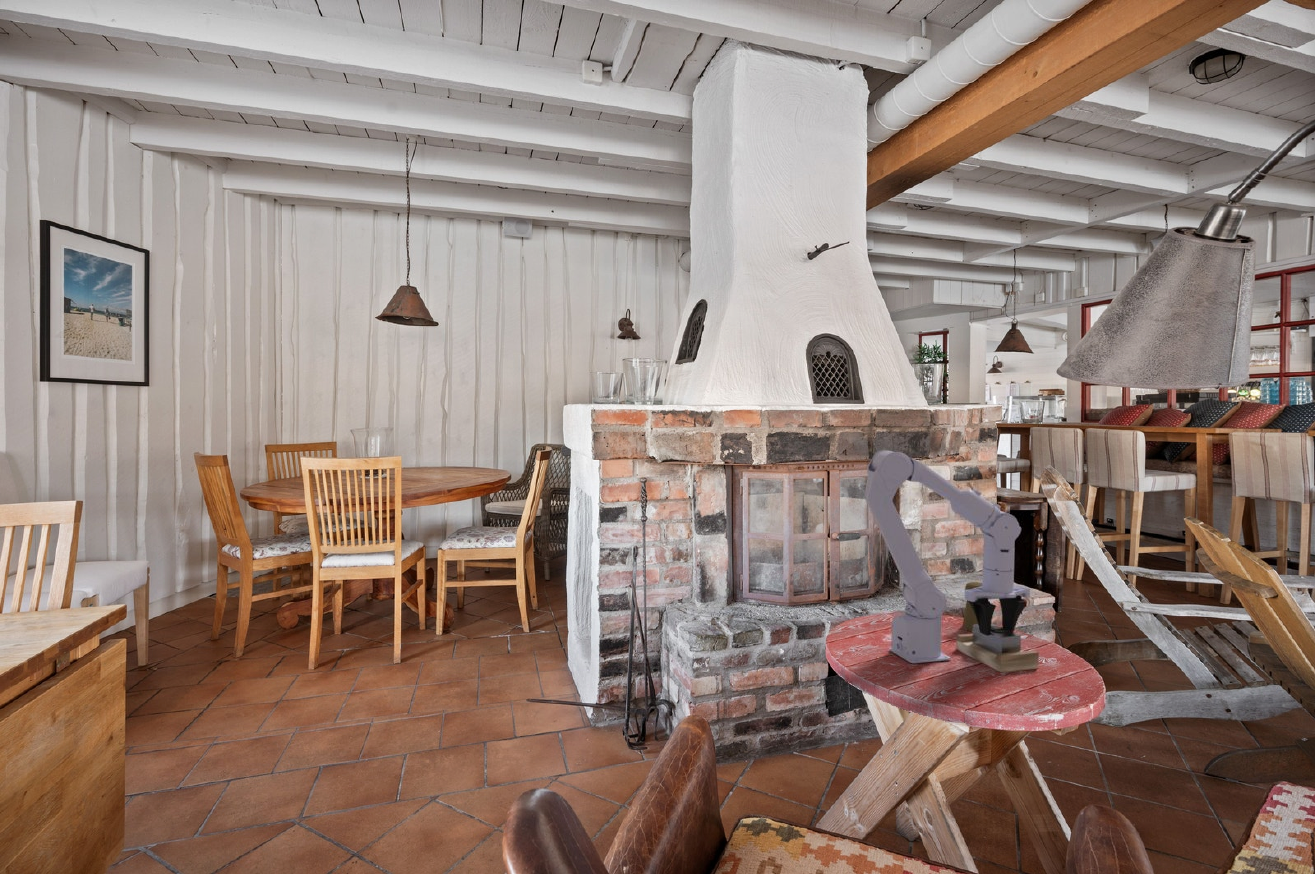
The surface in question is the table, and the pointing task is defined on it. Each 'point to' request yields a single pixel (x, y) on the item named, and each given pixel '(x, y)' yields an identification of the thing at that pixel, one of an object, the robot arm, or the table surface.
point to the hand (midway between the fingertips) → (996, 632)
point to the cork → (970, 609)
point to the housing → (997, 640)
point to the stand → (998, 656)
